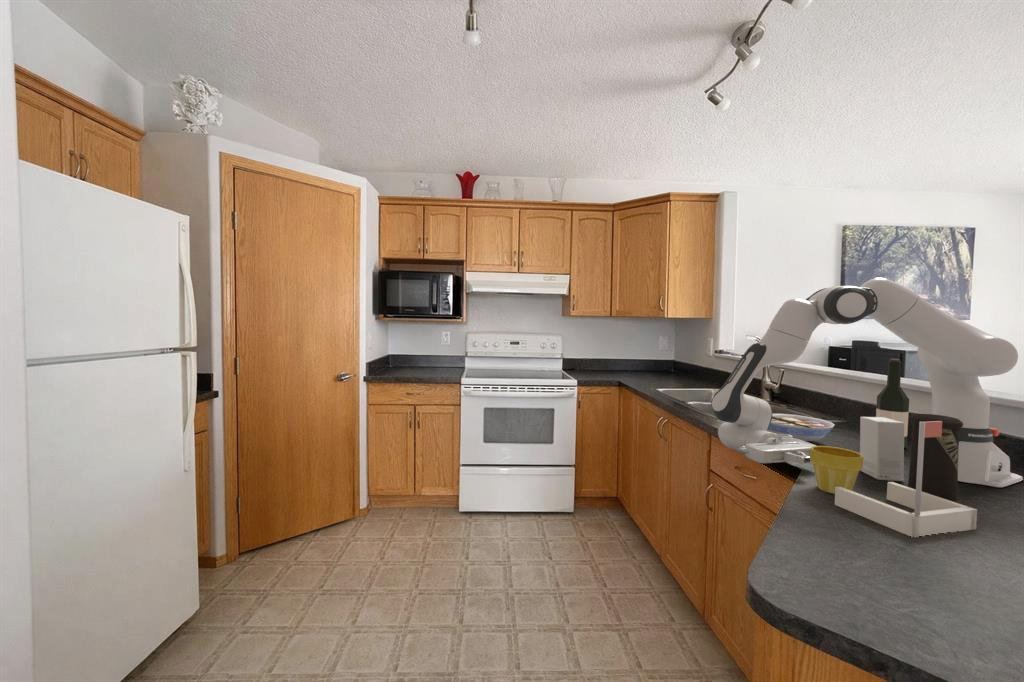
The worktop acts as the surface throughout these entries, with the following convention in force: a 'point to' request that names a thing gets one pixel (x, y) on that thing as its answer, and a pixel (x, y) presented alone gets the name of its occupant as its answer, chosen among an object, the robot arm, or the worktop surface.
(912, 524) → the white frame with flag
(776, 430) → the ramen bowl
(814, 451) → the plant pot
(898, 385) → the wine bottle
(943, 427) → the container
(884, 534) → the worktop surface
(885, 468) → the skincare box
